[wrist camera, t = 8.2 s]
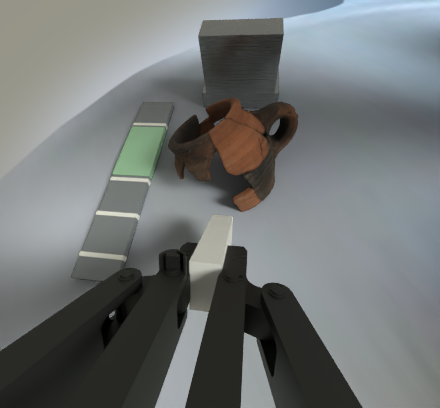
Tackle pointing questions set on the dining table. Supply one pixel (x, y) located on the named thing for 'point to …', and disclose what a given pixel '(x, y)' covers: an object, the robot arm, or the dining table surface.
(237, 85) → the striated grey slab
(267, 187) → the pottery mug
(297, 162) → the dining table surface
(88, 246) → the gauge strip
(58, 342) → the robot arm
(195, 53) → the dining table surface
